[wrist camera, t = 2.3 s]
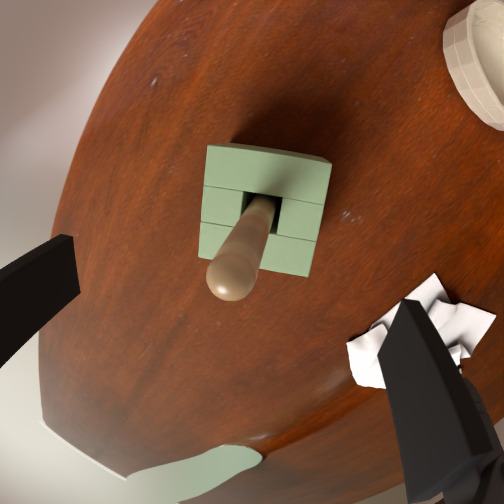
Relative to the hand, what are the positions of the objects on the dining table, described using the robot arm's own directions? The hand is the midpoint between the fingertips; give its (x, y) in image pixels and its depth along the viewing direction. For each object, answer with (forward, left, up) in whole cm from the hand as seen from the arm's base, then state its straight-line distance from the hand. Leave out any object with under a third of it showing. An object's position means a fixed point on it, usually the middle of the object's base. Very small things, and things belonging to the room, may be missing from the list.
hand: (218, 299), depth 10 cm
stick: (0, 0, -19) cm, 19 cm away
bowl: (-20, +22, -19) cm, 35 cm away
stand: (0, 0, -19) cm, 19 cm away
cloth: (+15, +24, -19) cm, 34 cm away
